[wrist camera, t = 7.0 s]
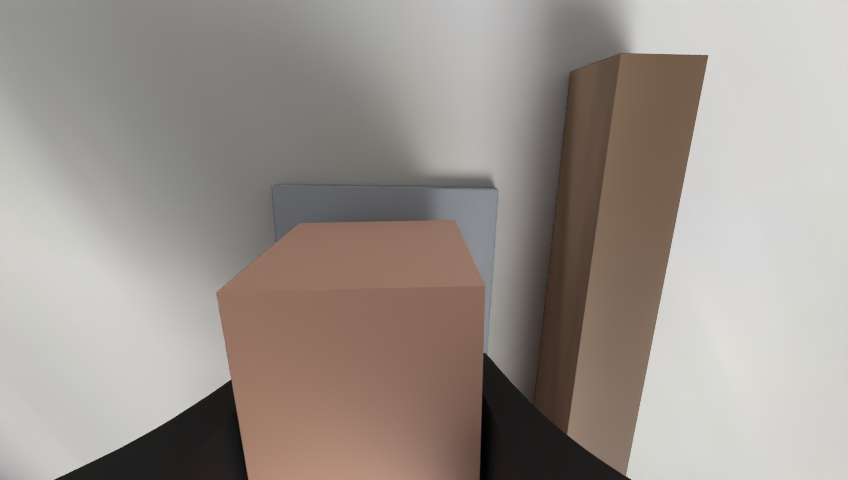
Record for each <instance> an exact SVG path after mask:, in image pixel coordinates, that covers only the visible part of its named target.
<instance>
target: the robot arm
mask: <svg viewBox="0 0 848 480" xmlns="http://www.w3.org/2000/svg"><path fill="white" fill-rule="evenodd" d="M55 480H248V474H247V468H246V462H245V456H244V451H243V445H242V439H241V433H240V427H239V421H238V415H237V410H236V404H235V398H234V392H233V386H232V380H230V381H229V382H227V383H226V384H224V385H223V386H221V387H220V388H219V389H217V390H216V391H214V392H213V393H211V394H210V395H208V396H207V397H205V398H204V399H202V400H201V401H199V402H198V403H196V404H195V405H193V406H191V407H190V408H188V409H187V410H185V411H184V412H182V413H181V414H179V415H178V416H176V417H175V418H173V419H171V420H170V421H168V422H166V423H165V424H163V425H161V426H159V427H158V428H156V429H154V430H153V431H151V432H149V433H147V434H145V435H144V436H142V437H140V438H138V439H136V440H134V441H133V442H131V443H129V444H127V445H125V446H123V447H121V448H120V449H118V450H116V451H114V452H111V453H109V454H107V455H105V456H103V457H101V458H99V459H97V460H95V461H93V462H91V463H89V464H87V465H84V466H82V467H80V468H78V469H76V470H74V471H72V472H70V473H68V474H66V475H64V476H61V477H59V478H57V479H55ZM480 480H631V479H629V478H628V477H626V476H624V475H623V474H621V473H620V472H618V471H617V470H615V469H614V468H612V467H611V466H609V465H608V464H606V463H605V462H603V461H602V460H600V459H599V458H597V457H596V456H594V455H593V454H592V453H590V452H589V451H587V450H586V449H585V448H583V447H582V446H581V445H579V444H578V443H577V442H576V441H574V440H573V439H572V438H570V437H569V436H568V435H567V434H565V433H564V432H563V431H562V430H560V429H559V428H558V427H557V426H556V425H554V424H553V423H552V422H551V421H550V420H549V419H548V418H546V417H545V416H544V415H543V414H542V413H541V412H540V411H539V410H538V409H537V408H536V407H534V406H533V405H532V404H531V403H530V402H529V401H528V400H527V399H526V398H525V396H524V395H523V394H522V393H521V392H520V391H519V390H518V389H517V388H516V387H515V386H514V385H513V384H512V383H511V382H510V381H509V379H508V378H507V377H506V376H505V375H504V374H503V373H502V372H501V370H500V369H499V368H498V367H497V366H496V365H495V363H494V362H493V361H492V360H491V359H490V358H489V357H488V356H487V354H486V353H483V381H482V415H481V448H480Z"/></svg>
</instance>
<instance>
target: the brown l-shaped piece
mask: <svg viewBox="0 0 848 480" xmlns="http://www.w3.org/2000/svg"><path fill="white" fill-rule="evenodd" d="M707 59H708V55H674V54H633V53H620V54H617V55H615V56H612V57H609V58H607V59H604V60H601V61H599V62H596V63H593V64H591V65H588V66H585V67H582V68H580V69H577V70H574V71H572V72H570V81H569V90H568V99H567V108H566V117H565V126H564V135H563V144H562V153H561V163H560V172H559V181H558V190H557V199H556V208H555V217H554V226H553V235H552V244H551V253H550V262H549V271H548V280H547V289H546V298H545V307H544V316H543V325H542V334H541V343H540V353H539V362H538V371H537V380H536V389H535V398H534V407H536V408H537V409H538V410H539V411H540V412H541V413H542V414H543V415H544V416H545V417H546V418H548V419H549V420H550V421H551V422H552V423H553V424H554V425H556V426H557V427H558V428H559V429H560V430H562V431H563V432H564V433H565V434H567V435H568V436H569V437H570V438H572V439H573V440H574V441H576V442H577V443H578V444H579V445H581V446H582V447H583V448H585V449H586V450H587V451H589V452H590V453H592V454H593V455H594V456H596V457H597V458H599V459H600V460H602V461H603V462H605V463H606V464H608V465H609V466H611V467H612V468H614V469H615V470H617V471H618V472H620V473H621V474H623V475H624V476H626V472H627V467H628V462H629V457H630V452H631V447H632V441H633V436H634V431H635V426H636V421H637V416H638V411H639V406H640V401H641V396H642V391H643V385H644V380H645V375H646V370H647V365H648V360H649V355H650V350H651V345H652V340H653V334H654V329H655V324H656V319H657V314H658V309H659V304H660V299H661V294H662V289H663V283H664V278H665V273H666V268H667V263H668V258H669V253H670V248H671V243H672V238H673V233H674V227H675V222H676V217H677V212H678V207H679V202H680V197H681V192H682V187H683V182H684V176H685V171H686V166H687V161H688V156H689V151H690V146H691V141H692V136H693V131H694V126H695V120H696V115H697V110H698V105H699V100H700V95H701V90H702V85H703V80H704V75H705V69H706V64H707Z"/></svg>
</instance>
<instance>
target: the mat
mask: <svg viewBox="0 0 848 480" xmlns="http://www.w3.org/2000/svg"><path fill="white" fill-rule="evenodd" d="M272 198H273V210H274V221H275V233H276V242H277V241H279V240H280V239H281V238H282V237H283V236H285V235H286V234H287V233H288V232H289V231H291V230H292V229H293V228H294V227H295V226H297V225H298V224H299V223H328V222H377V221H426V220H455V221H456V223H457V225H458V228H459V230H460V232H461V234H462V236H463V238H464V241H465V243H466V245H467V247H468V249H469V251H470V254H471V256H472V258H473V260H474V262H475V264H476V267H477V269H478V271H479V273H480V275H481V277H482V280H483V282H484V284H485V315H484V348H483V353H486V354H487V345H488V331H489V317H490V302H491V288H492V274H493V259H494V245H495V231H496V216H497V202H498V189H497V188H464V187H400V186H337V185H274V186H272Z"/></svg>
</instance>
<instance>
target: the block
mask: <svg viewBox="0 0 848 480" xmlns="http://www.w3.org/2000/svg"><path fill="white" fill-rule="evenodd" d="M216 293H217V299H218V304H219V310H220V316H221V322H222V328H223V334H224V339H225V345H226V351H227V357H228V363H229V369H230V375H231V380H232V386H233V392H234V398H235V404H236V410H237V415H238V421H239V427H240V433H241V439H242V445H243V451H244V456H245V462H246V468H247V474H248V480H480V448H481V415H482V381H483V348H484V315H485V284H484V282H483V280H482V277H481V275H480V273H479V271H478V269H477V267H476V264H475V262H474V260H473V258H472V256H471V254H470V251H469V249H468V247H467V245H466V243H465V241H464V238H463V236H462V234H461V232H460V230H459V228H458V225H457V223H456V221H455V220H426V221H377V222H328V223H299V224H298V225H297V226H295V227H294V228H293V229H292V230H291V231H289V232H288V233H287V234H286V235H285V236H283V237H282V238H281V239H280V240H279V241H277V242H276V243H275V244H274V245H273V246H271V247H270V248H269V249H268V250H267V251H265V252H264V253H263V254H262V255H261V256H259V257H258V258H257V259H256V260H255V261H253V262H252V263H251V264H250V265H249V266H247V267H246V268H245V269H244V270H243V271H241V272H240V273H239V274H238V275H237V276H235V277H234V278H233V279H232V280H231V281H229V282H228V283H227V284H226V285H225V286H223V287H222V288H221V289H220V290H219V291H217V292H216Z"/></svg>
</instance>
